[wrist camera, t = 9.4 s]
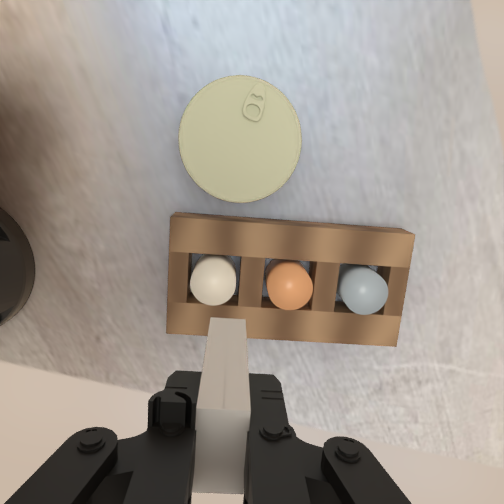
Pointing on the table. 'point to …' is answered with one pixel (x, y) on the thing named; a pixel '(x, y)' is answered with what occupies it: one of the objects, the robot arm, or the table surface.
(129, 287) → the table surface
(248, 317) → the wooden egg holder
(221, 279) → the white egg
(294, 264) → the orange egg
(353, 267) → the blue-grey egg
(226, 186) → the can
